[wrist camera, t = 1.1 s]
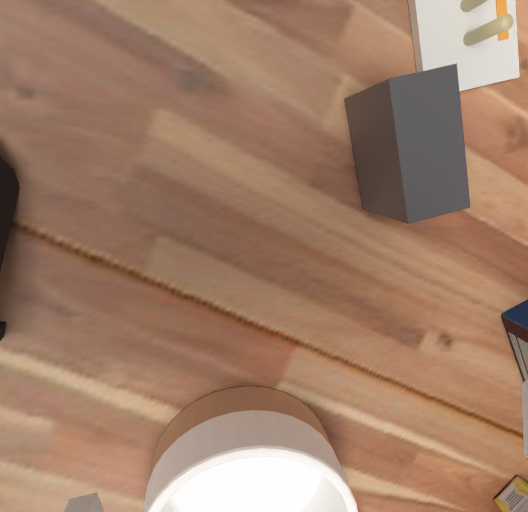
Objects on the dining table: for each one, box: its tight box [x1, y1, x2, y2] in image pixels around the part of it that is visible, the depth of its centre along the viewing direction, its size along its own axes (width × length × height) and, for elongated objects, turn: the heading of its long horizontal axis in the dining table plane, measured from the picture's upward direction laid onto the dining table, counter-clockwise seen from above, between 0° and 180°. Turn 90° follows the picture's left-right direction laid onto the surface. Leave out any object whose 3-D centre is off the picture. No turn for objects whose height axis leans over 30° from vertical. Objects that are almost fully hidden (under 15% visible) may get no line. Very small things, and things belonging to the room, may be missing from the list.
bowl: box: [143, 386, 358, 512], centre depth 34 cm, size 17×17×8 cm
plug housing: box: [344, 63, 470, 224], centre depth 29 cm, size 9×4×8 cm, turn 13°
